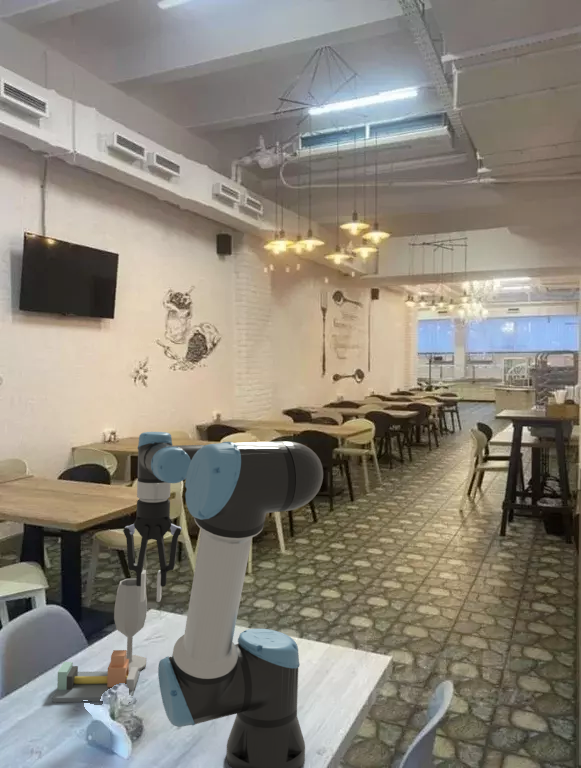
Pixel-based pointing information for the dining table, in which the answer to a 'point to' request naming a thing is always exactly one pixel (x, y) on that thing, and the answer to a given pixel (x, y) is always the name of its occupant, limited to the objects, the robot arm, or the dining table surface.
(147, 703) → the dining table surface
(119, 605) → the wineglass
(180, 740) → the dining table surface
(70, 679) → the linear slide rail
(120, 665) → the sleeve
